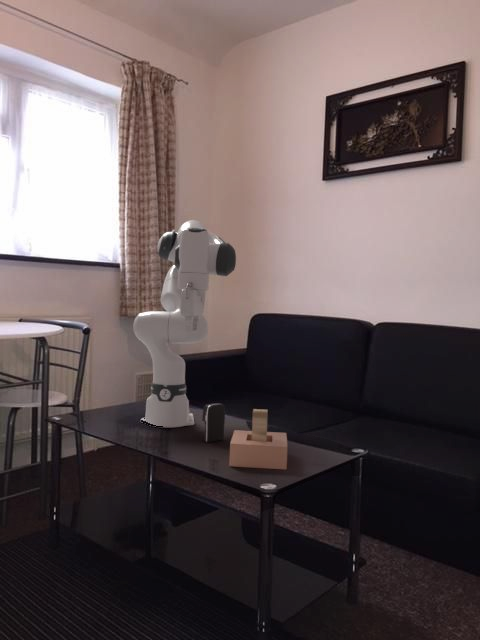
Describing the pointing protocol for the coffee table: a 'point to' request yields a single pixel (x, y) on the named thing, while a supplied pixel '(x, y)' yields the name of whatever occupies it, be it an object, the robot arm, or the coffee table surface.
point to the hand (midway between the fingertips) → (191, 331)
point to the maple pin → (259, 425)
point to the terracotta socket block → (258, 450)
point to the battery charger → (214, 421)
